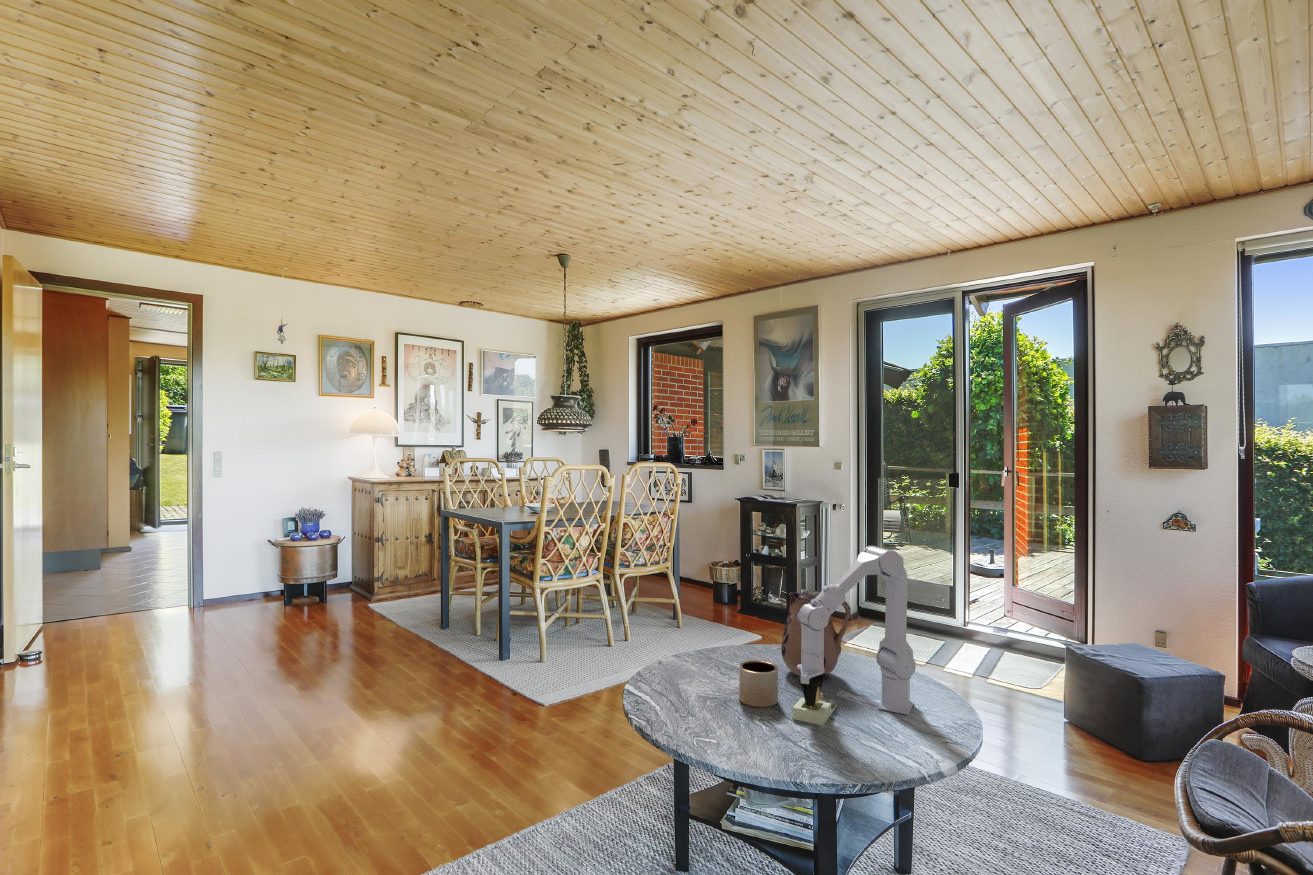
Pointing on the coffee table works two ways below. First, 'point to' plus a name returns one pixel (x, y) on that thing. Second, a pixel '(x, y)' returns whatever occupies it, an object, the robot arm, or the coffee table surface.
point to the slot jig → (814, 711)
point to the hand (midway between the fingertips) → (812, 702)
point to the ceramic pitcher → (794, 634)
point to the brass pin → (816, 706)
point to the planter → (758, 683)
